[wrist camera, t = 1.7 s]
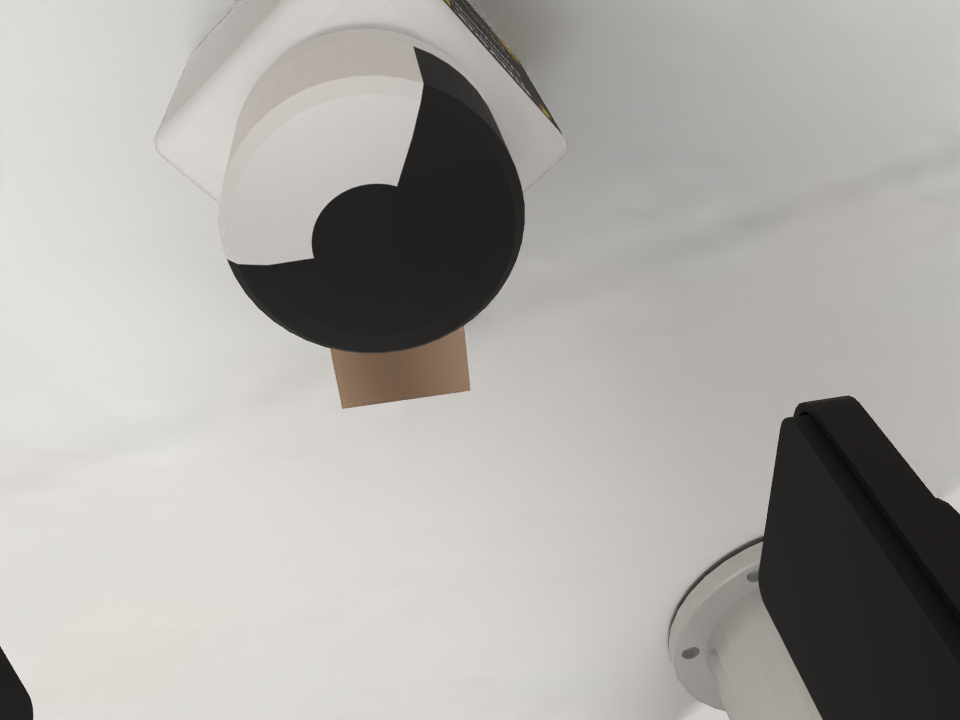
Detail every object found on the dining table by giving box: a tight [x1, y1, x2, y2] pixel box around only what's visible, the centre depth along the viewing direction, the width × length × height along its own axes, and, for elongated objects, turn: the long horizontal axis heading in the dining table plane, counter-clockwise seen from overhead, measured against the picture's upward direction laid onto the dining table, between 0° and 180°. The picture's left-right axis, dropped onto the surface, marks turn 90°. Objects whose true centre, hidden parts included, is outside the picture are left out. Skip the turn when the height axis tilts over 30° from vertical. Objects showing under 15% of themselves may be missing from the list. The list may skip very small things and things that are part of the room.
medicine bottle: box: [154, 0, 567, 353], centre depth 23 cm, size 7×7×12 cm
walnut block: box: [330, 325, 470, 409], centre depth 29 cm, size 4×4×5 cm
